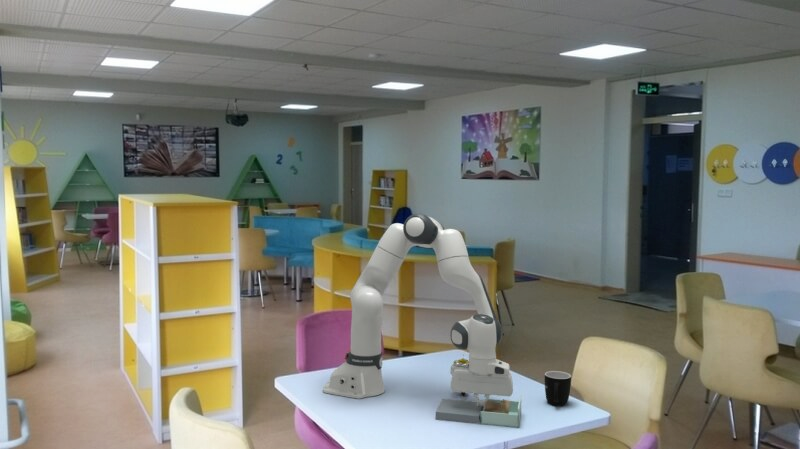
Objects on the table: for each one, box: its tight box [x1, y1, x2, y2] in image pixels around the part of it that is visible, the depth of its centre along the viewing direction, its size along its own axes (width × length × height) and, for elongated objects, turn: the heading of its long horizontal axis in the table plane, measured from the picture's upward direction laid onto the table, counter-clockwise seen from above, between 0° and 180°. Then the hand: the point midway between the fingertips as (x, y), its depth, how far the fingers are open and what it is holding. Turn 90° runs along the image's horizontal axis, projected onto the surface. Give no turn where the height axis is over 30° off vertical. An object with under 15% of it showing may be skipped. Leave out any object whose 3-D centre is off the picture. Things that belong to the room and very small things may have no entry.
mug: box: [544, 370, 572, 407], centre depth 224 cm, size 12×9×10 cm
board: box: [435, 398, 484, 425], centre depth 214 cm, size 14×13×2 cm
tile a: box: [500, 398, 511, 414], centre depth 210 cm, size 5×5×2 cm
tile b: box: [485, 400, 502, 413], centre depth 211 cm, size 5×5×2 cm
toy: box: [452, 353, 469, 397], centre depth 233 cm, size 7×7×15 cm
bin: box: [479, 395, 522, 429], centre depth 210 cm, size 12×13×6 cm
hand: (481, 406), depth 212 cm, fingers closed
